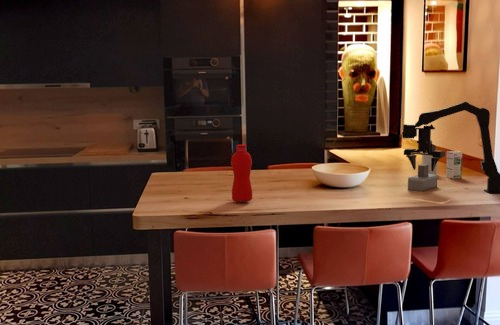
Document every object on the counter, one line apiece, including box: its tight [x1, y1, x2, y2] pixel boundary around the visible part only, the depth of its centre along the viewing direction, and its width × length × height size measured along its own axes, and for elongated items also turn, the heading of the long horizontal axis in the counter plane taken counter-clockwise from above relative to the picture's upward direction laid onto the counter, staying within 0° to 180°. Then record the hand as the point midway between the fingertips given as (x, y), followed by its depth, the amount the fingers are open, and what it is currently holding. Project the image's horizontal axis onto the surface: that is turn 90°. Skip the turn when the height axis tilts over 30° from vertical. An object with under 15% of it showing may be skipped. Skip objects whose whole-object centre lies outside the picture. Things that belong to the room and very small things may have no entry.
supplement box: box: [421, 152, 438, 175], centre depth 289 cm, size 7×7×13 cm
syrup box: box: [445, 150, 463, 179], centre depth 279 cm, size 6×6×14 cm
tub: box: [407, 177, 438, 193], centre depth 252 cm, size 16×7×5 cm, turn 136°
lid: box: [407, 163, 439, 181], centre depth 252 cm, size 16×7×6 cm, turn 136°
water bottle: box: [230, 144, 253, 203], centre depth 232 cm, size 9×11×25 cm
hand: (423, 170), depth 251 cm, fingers open, 9 cm apart
